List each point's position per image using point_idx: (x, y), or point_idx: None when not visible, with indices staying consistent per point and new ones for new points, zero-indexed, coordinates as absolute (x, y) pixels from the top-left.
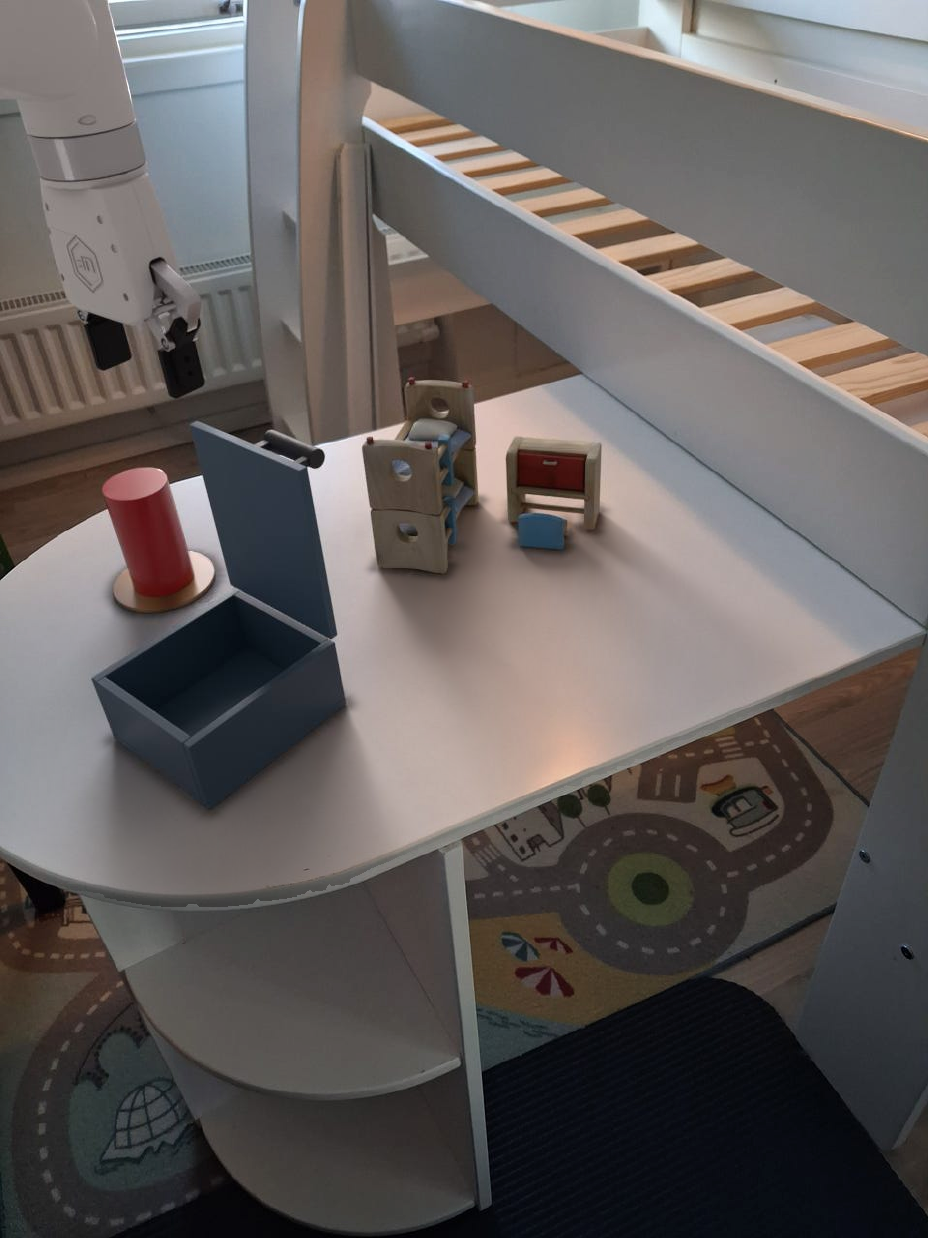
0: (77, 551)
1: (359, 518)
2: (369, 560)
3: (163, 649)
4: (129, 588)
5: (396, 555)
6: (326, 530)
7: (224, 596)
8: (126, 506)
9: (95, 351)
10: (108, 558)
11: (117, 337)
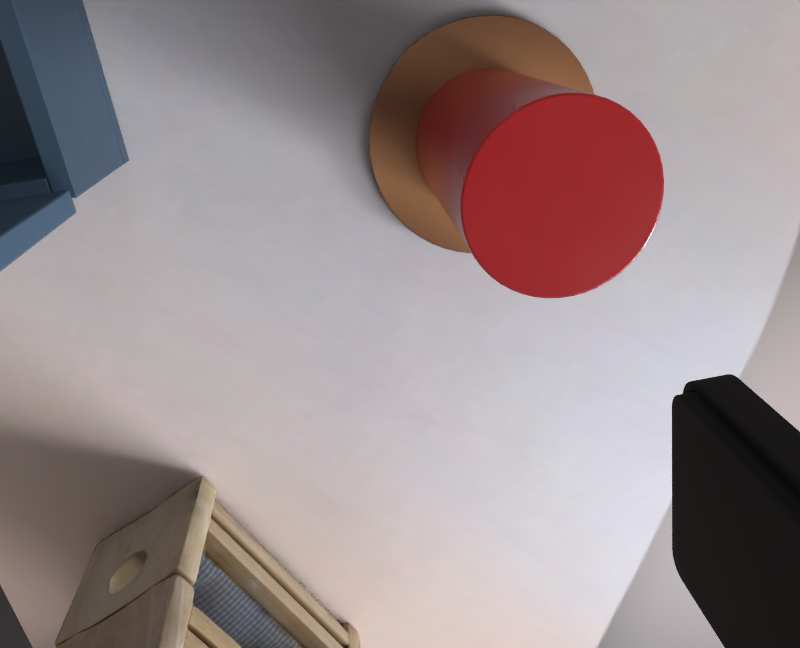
0: (764, 43)
1: (375, 530)
2: (236, 475)
3: None
4: (514, 60)
5: (162, 517)
6: (387, 470)
7: (55, 156)
8: (489, 125)
9: (759, 452)
10: (674, 86)
11: (756, 643)
